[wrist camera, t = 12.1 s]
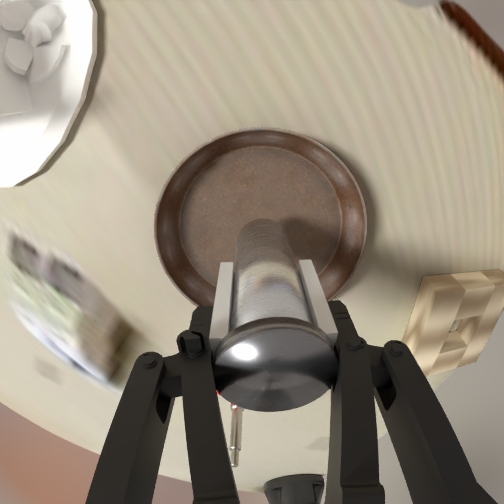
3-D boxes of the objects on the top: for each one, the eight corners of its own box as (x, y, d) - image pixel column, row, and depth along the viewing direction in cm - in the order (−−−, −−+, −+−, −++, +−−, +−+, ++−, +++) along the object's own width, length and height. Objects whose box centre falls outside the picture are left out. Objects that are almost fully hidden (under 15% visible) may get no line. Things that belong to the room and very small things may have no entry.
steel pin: (294, 271, 24) (327, 407, 12) (230, 273, 24) (219, 412, 12) (297, 210, 22) (348, 329, 10) (226, 212, 22) (204, 336, 10)
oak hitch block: (465, 346, 35) (475, 361, 32) (393, 363, 35) (401, 381, 32) (498, 269, 29) (513, 282, 26) (423, 276, 29) (437, 293, 26)
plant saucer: (148, 138, 23) (135, 142, 20) (358, 124, 22) (372, 126, 19) (181, 310, 31) (176, 329, 28) (348, 299, 30) (356, 317, 27)
